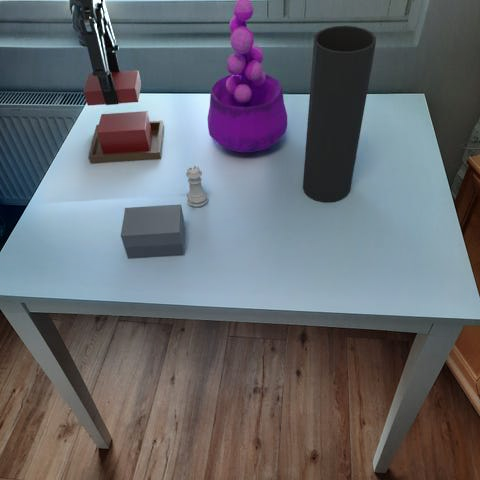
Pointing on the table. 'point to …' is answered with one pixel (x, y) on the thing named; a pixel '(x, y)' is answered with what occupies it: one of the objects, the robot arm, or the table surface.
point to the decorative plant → (246, 94)
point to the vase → (336, 109)
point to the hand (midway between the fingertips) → (114, 93)
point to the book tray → (153, 154)
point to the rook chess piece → (196, 188)
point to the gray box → (153, 231)
